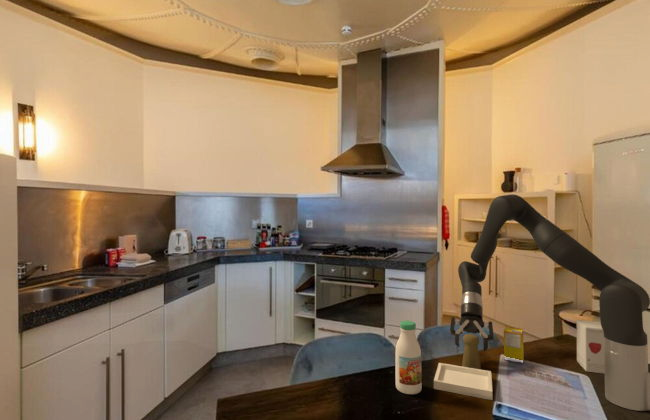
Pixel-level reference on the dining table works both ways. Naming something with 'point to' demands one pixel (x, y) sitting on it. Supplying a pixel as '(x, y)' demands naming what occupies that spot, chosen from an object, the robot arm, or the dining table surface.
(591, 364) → the supplement box
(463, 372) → the tray
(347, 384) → the dining table surface
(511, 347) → the supplement box
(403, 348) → the milk bottle
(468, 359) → the cork
